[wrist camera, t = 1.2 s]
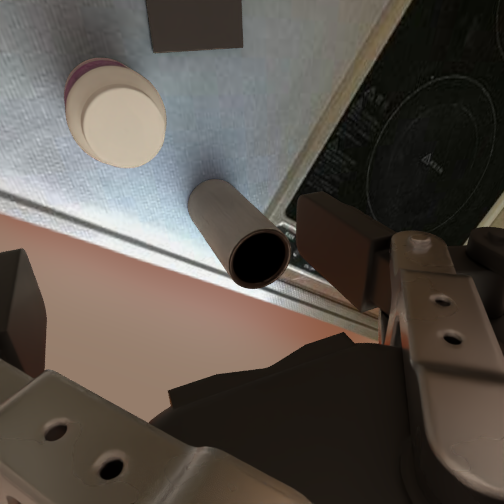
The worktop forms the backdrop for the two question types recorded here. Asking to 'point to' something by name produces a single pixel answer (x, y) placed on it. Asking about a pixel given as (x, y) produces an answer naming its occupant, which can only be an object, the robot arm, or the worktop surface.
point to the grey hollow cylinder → (239, 234)
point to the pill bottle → (114, 113)
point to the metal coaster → (194, 25)
